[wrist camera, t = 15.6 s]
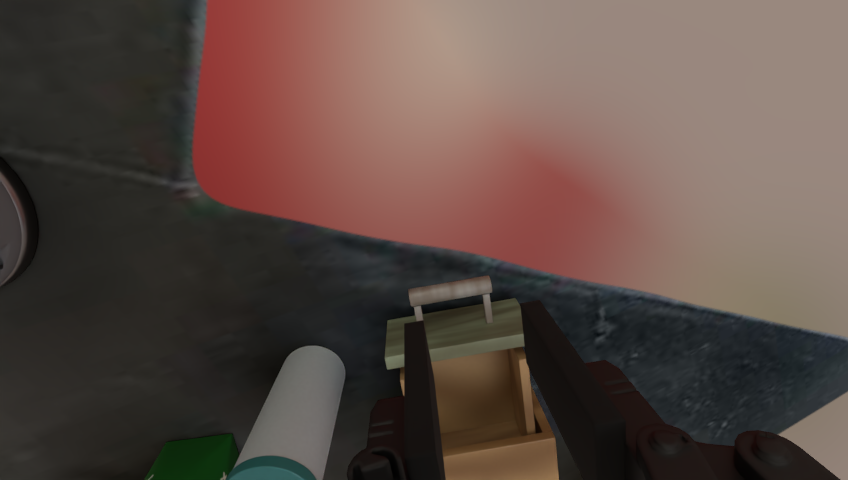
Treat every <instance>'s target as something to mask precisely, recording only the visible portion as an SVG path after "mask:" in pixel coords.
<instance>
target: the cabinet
mask: <svg viewBox="0 0 848 480" xmlns="http://www.w3.org/2000/svg"><path fill="white" fill-rule="evenodd" d="M531 393H532V403H533V412H534V422H535V432H536V434H531V435H525V436H519V437H513V438H507V439H501V440H496V441H490V442H484V443H478V444H472V445H466V446H461V447H455V448H449V449H443V450H442V451H443V460H444V469H445V477H446V480H559V475H558V463H557V452H556V440H555V436H554V434H553V432H552V430H551V427H550V425H549V423H548V421H547V419H546V417H545V415H544V412H543V410H542V408H541V406H540V404H539V402H538V399H537V397H536V395H535V393H534V391H533V389H532V386H531Z"/></svg>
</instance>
